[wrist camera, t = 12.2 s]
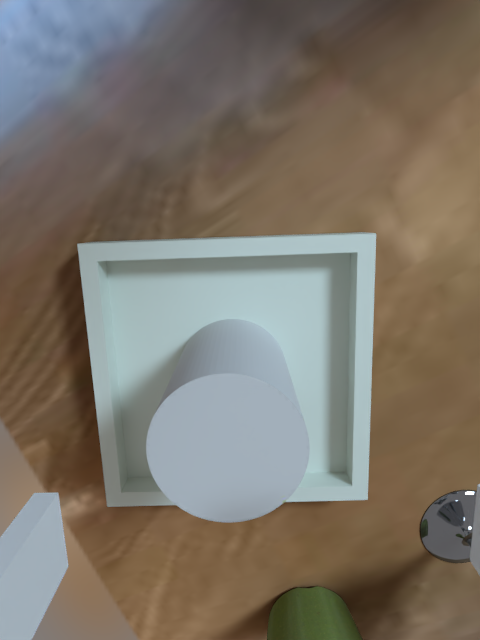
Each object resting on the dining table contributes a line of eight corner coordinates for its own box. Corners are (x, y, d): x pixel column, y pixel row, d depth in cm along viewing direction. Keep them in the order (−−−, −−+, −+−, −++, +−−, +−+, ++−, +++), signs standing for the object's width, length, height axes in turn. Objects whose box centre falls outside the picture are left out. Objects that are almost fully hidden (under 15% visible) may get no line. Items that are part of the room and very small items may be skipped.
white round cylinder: (184, 423, 35) (155, 526, 23) (174, 322, 33) (136, 378, 21) (288, 417, 35) (312, 517, 23) (283, 315, 33) (306, 367, 21)
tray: (92, 241, 33) (77, 244, 30) (364, 232, 32) (376, 233, 30) (117, 484, 37) (107, 506, 34) (357, 477, 37) (367, 499, 34)
